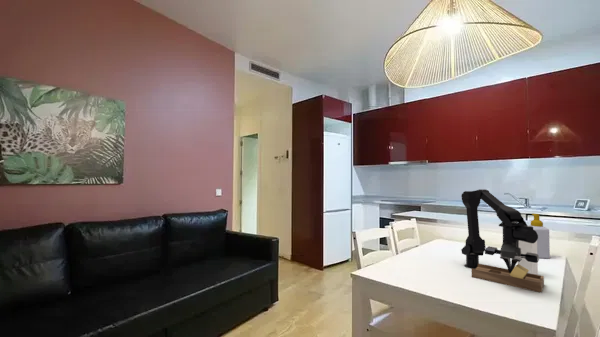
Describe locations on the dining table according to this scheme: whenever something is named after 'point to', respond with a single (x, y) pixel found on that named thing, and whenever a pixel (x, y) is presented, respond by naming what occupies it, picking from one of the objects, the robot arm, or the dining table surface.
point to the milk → (530, 249)
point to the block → (519, 271)
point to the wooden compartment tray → (508, 277)
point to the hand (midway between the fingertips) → (510, 273)
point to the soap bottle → (541, 237)
